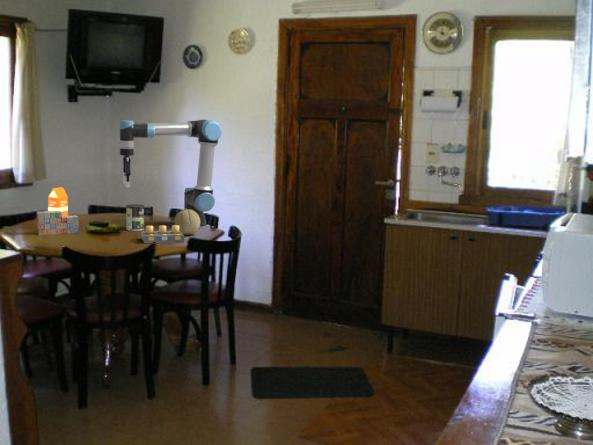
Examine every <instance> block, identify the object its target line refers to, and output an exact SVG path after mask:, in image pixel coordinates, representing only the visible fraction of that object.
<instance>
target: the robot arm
mask: <svg viewBox="0 0 593 445" xmlns="http://www.w3.org/2000/svg"><path fill="white" fill-rule="evenodd" d="M222 129H223V128H222V127H221V125H220V123H218V121H215V120H213V119H198V120H188V121H186V122H155V123H154V122H153V123H151V122H147V123H145V122H142V123H141V122H139V123H138V122H134V121H133V120H125V119H124V120H123V119H121V121H120V122H119V142H118V144H119V155H120V156H123V159H122V164H123V168H122V171H123V173H122V174H123V177H122V178H123V185H124V187H125V188H131V175H132V174H131V173H132V172H131V162H132V159H131V157H130V156H134V155H135V154H134V147H135V146H134V145H135V144H134V143H135V140H134V138H137V139H138V138H139V139H140V138H141V139H143V138H144V139H150V138H151V139H152V138H154V137H171V136H173V137H174V136H176V137H180V136H186V137H188V138H197V140H198V141H197V143H198V144H199V146H200V147H199V155H198V158H199V159H198V165H197V166H198V167H197V176H196V177H197V178H196V185H194V187H186V188H185V189H184V193H183V199H184V200H183V202H184V205H183V206H184V208H186V209H189V210H193V211H195V212H196V213H197V214H198V216H199V218H200V227H203V226H206V225H207V219H206V217H205V214H204V212H209V211H211V210H212V209H213V207H214V206H215V204H216V199H215V197H214V188H212V181H213V180H212V178H213V168H214V158H215V147H217V145H219V139H220V138H221V136H222V134H223V131H222ZM184 208H183V210H185V209H184Z"/></svg>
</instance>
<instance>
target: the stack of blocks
mask: <svg viewBox="0 0 593 445" xmlns="http://www.w3.org/2000/svg"><path fill="white" fill-rule="evenodd" d="M79 226H80V224H79V216H78V215H68V216H62V212H60V211H48V210H45V211H36V230H37V231H36V234H38V235H39V236H46V235H67V234H69V235H71V234H79V231H80V229H79Z"/></svg>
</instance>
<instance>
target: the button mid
mask: <svg viewBox="0 0 593 445" xmlns="http://www.w3.org/2000/svg"><path fill="white" fill-rule="evenodd" d="M158 231H159V234H166V231H167V225H164V224H163V225H158Z"/></svg>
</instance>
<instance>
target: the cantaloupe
mask: <svg viewBox="0 0 593 445" xmlns="http://www.w3.org/2000/svg"><path fill="white" fill-rule="evenodd" d="M184 209H185V210H184ZM174 225H179V231H181V232H182V233H183V234H184V236H189V235H194V234H195V233H196V232H198V230H199V229H200V227H201V226H200V218H199V216H198V214H197V213H196V212H195V211H193V210H189V209H186V208H183V210H179V212H178V213H177V214H176V215H175V217H174Z"/></svg>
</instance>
